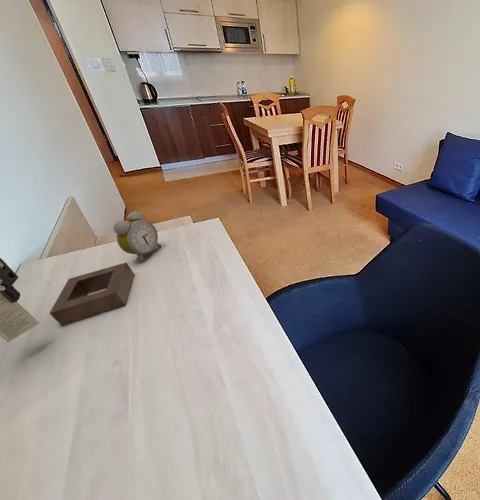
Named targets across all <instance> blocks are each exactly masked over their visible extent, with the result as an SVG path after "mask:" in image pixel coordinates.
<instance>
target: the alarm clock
mask: <svg viewBox="0 0 480 500" xmlns="http://www.w3.org/2000/svg"><path fill="white" fill-rule="evenodd" d="M145 219H146V217H145V215H144V214H143V213H141V212H139V211H137V210H134V211H132V212H130V213H129V214H128V215H127V216H126V220H119V221H116V222H115V223H114V225H113V228H112V229H113V231H114V233H115V234H116V242H117V244H118V246H119V248H120V249H121V250H122V251H123V252H124V253H127V254H131V255H137V258H138V261H139V263H143V262H144V255H147V254H150V253H151V252H152V251H153V250H155V248H156V247H159V248H160V247H161V246H162V245H161V244H160V243H159V242H158V240H159V235H158V231H157V228H156V227H155V225H154V224H153V223H152V222H150V221H148V220H147V219H146V220H145Z"/></svg>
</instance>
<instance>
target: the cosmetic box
mask: <svg viewBox="0 0 480 500" xmlns="http://www.w3.org/2000/svg"><path fill="white" fill-rule="evenodd" d="M39 324H40V321H38V319H37V318H35V317H34V316H33V314H31V313H30V312H29V311H28V310H27V309H25V308H24V307H23V306H22V304H20V303H19V302H18V301H17V302H14V303H11V302H10V301H9V300H8V299H7V298H6V297H5V296H3V295H2V294H1V293H0V337H1V338H2V339H3V340H5V341H6V342H7V343H9V342H12V341H13V340H14V339H17V338H18V337H19V336H22V335H23V334H25V333H26V332H28V331H30V330H32V329H33V328H35V327H36V326H38V325H39Z"/></svg>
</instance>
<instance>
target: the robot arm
mask: <svg viewBox="0 0 480 500" xmlns="http://www.w3.org/2000/svg"><path fill="white" fill-rule="evenodd" d="M18 279H19V275H18V274H16V272H15V271H14V270H13V269H12V268H11V267H10V266H9V265H8V264H7V263H6V261H5V260H3V259H2V258H1V257H0V293H1V294H2V295H3V296H5V297H6V298H7V299H8V300H9V301H10V302H11V303H14V302H18V301H19V300H20V298H21V293H20V291H19V290H17V288H16V287H15V286H14V284H15V283H16V281H17V280H18Z"/></svg>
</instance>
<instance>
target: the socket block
mask: <svg viewBox="0 0 480 500" xmlns="http://www.w3.org/2000/svg"><path fill="white" fill-rule="evenodd" d="M134 278H135V273H134V271H133V270H132V268H131V267H130V265H129V264H128V262H123V263H119V264H116V265H112V266H109V267H104V268H101V269H98V270H94V271H90V272H87V273H84V274H80V275H77V276H73V277H70V278H68V279H67V282H66V283H65V284H64V286H63V288H62V290H61V292H60V294H59V295H58V297H57V299H56V301H55V303H54V304H53V306H52V308H51V310H50V311H49V315H50V316H51V317H52V318H53V319H54V320H55V321H56V322H57V323H58V324H59V325H60V326H61V327H63V326H66V325H69V324H72V323H75V322H79V321H83V320H85V319H88V318H91V317H94V316H97V315H100V314H103V313H107V312H111V311H113V310H116V309H119V308H122V307H126V306H127V303H128V300H129V296H130V292H131V288H132V286H133V281H134ZM104 289H105V290H104ZM100 290H101V291H100ZM97 291H98V292H97ZM91 293H92V294H91Z"/></svg>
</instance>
